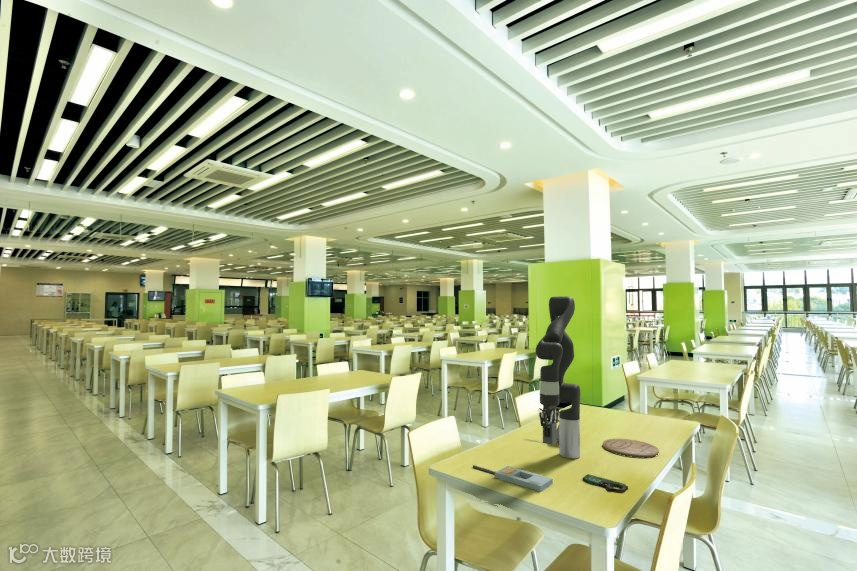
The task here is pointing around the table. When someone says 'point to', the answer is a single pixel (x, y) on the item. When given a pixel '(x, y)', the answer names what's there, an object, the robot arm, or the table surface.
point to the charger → (551, 434)
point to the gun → (605, 483)
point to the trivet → (630, 448)
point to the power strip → (513, 476)
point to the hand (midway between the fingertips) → (549, 435)
